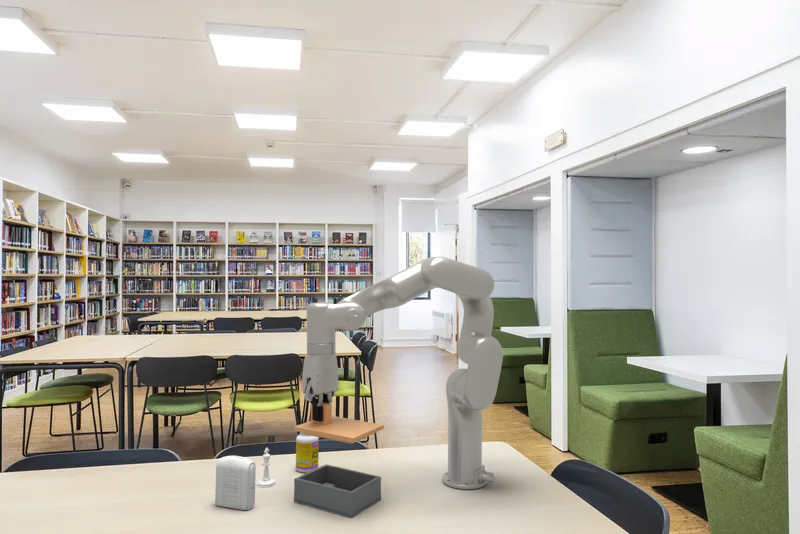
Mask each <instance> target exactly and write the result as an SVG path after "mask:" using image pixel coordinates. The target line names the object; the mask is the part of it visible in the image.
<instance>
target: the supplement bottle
mask: <svg viewBox="0 0 800 534" xmlns="http://www.w3.org/2000/svg"><path fill="white" fill-rule="evenodd" d="M295 439H296V440H295V441H296V442H295V446H296V447H295V470H296V471H297V472H299V473H303V474H306V473H308V472H310V471H312V470H315V469H317V468H319V442H320V440H319V439H320V437H316V436H311V435H306V434H303V432H299V434H298V435H297V436H296V438H295Z"/></svg>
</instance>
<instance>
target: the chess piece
mask: <svg viewBox="0 0 800 534" xmlns="http://www.w3.org/2000/svg"><path fill="white" fill-rule="evenodd" d="M269 451H270V449H269V447H265V450H264V451H263V453H264V454H263V455H262V458H263V461H264V462H262V465H263V466H264V467H263V468H264V470H263V476H262V478H261V479H259V480H258V481H257V482H256V483H257V484H256V485H257V486H258V487H259V488H270V486H271V487H273V486H275V485H276V480H275V479H274V478H272V477H270V471H269V466H270V465H271V462H270V458H271V454H270V453H269Z"/></svg>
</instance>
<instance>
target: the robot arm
mask: <svg viewBox="0 0 800 534" xmlns="http://www.w3.org/2000/svg"><path fill="white" fill-rule="evenodd" d="M436 288H438V289H442V290H444V291H446V292H450V293H453V294H455V295H456V296H457V297H458V298H459V300H460V301H461V304H462V306H463V317H462V318H463V319H462V324H461V328H460V334H459V338H458V339H459V340H458V343H457V350H456V351H457V352H456V353H457V356H458V358H459V360H460V361H461V362H463V364H466V365H467V368H458V369H455V370H453V371H452V372H451V373H450V374H449V376H448V377H447V379H446V382H445V383H446V384H445V394H446V403H447V413H448V414H447V415H448V418H447V419H448V420H447V424H448V426H447V472H445V473H443V475H442V477H441V479H442V483H443V484H444V485H446V486H448V487H450V488H453V489H454V488H455V489H460V490H476V489H481V488H483V487H485V486H486V485H487V484H488V483H495V481H496V475H495V473H494V472H492V471H491V472H490V471H487V470H486V465H483V464H482V463H483V459H482V457H483V448H482V447H483V411H484V410H486V409H488V408H489V407H490V406H491V405H492V404H493V402H494V400H495V397H496V396H497V390H498V388H499V387H498V385H499V380H500V376H501V371H502V366H503V359H504V355H503V353H504V352H503V348H502V345H501V343H500V341H498V339H497V338H495V337H494V336H492V331H493V325H494V317H495V316H494V315H495V313H494V312H495V311H494V305H493V300H492V298H491V295H492V294H493V292H494V289H495V280H494V278H493V276H492V275H491V274H490V273H489V272H488V271H487V270H486V269H483V268H480V267H477V266H474V265H470V264H467V263H465V262H462V261H461V262H460V261H458V260H455V259H452V258H449V257H446V256H431V257H427V258H425V259H422V260H420V261H418V262H416V263H414V264H412V265H410V266H409V267H407V268H404V269H403V270H401V271H397V272H396V273H395V274H392V275H391V276H389V277H386V278H384V279H382V280H380V281H378V282H376V283H375V284H374V283H373V284H372V285H369V286H368V287H366V288H364V289H362V290H359V291H357V292H355V293H353V294H351V295H349V296H347V297H345V298H343V299H341V300H339V301H338V302H337V303H331V302H324V301H323V302H320V301H319V302H312V303H309V304H308V305H307V307H306V355H305V356H304V361H303V367H302V376H301V377H302V380H301V391H302V393H303V394H304V396H303V399H304V400H307V401H308V402H309V403H310V406H311V405H312V419H313V420H314V421H320V422H322V421H323V406H321V405H322V402H324V403H330V404H332V402H333V398H334V395H335V394H336V393H337V392H338V390H339V389H338V386H339V368H338V367H339V365H338V359H337V358H338V357H337V354H336V330H343V331H344V330H345V331H354V330H358V329H360V328H361V327H362V326H363V325H364V324H365V322H366V319H367V317H368V316H371V315H373V314H375V313H378V312H380V311H383V310H388V309H393V308H398V307H400V306H403V305H405V304H407V303H409V302H411V301H413V300H415V299H416V298H419V297H420V296H422V295H424V294H426V293H428V292H430V291H432V290H434V289H436Z"/></svg>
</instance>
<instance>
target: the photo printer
mask: <svg viewBox="0 0 800 534" xmlns="http://www.w3.org/2000/svg"><path fill="white" fill-rule="evenodd" d="M256 469H257V468H256V462H254V461H253V460H252V459H249V458H246V457H244V456H239V455H226V456H223V457H221V458H218V460H217V461H216V466H215V494H214V496H215V497H214V504H215V505H216V506H219V507H224V508H229V509H236V510H242V511H249V510H252V509H253V508H254V507H255V503H256V472H257V471H256Z"/></svg>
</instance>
